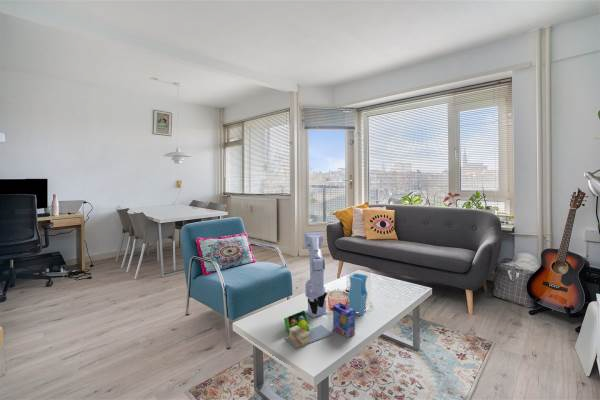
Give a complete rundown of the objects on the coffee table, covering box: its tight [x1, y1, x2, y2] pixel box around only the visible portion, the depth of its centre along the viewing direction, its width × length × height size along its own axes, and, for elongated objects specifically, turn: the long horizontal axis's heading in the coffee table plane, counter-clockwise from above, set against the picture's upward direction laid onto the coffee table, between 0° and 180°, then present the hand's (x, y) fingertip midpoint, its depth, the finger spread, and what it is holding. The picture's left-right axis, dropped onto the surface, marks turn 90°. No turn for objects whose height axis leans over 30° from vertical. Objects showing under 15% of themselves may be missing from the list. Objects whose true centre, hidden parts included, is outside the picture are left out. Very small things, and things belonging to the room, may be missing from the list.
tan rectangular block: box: [288, 325, 310, 346], centre depth 134 cm, size 9×4×4 cm, turn 43°
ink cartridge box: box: [332, 302, 356, 338], centre depth 141 cm, size 10×6×14 cm, turn 38°
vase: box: [347, 272, 368, 316], centre depth 162 cm, size 8×8×20 cm
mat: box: [284, 324, 334, 350], centre depth 137 cm, size 21×10×1 cm, turn 122°
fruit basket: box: [283, 310, 310, 332], centre depth 142 cm, size 11×9×11 cm
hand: (317, 310), depth 143 cm, fingers open, 7 cm apart
